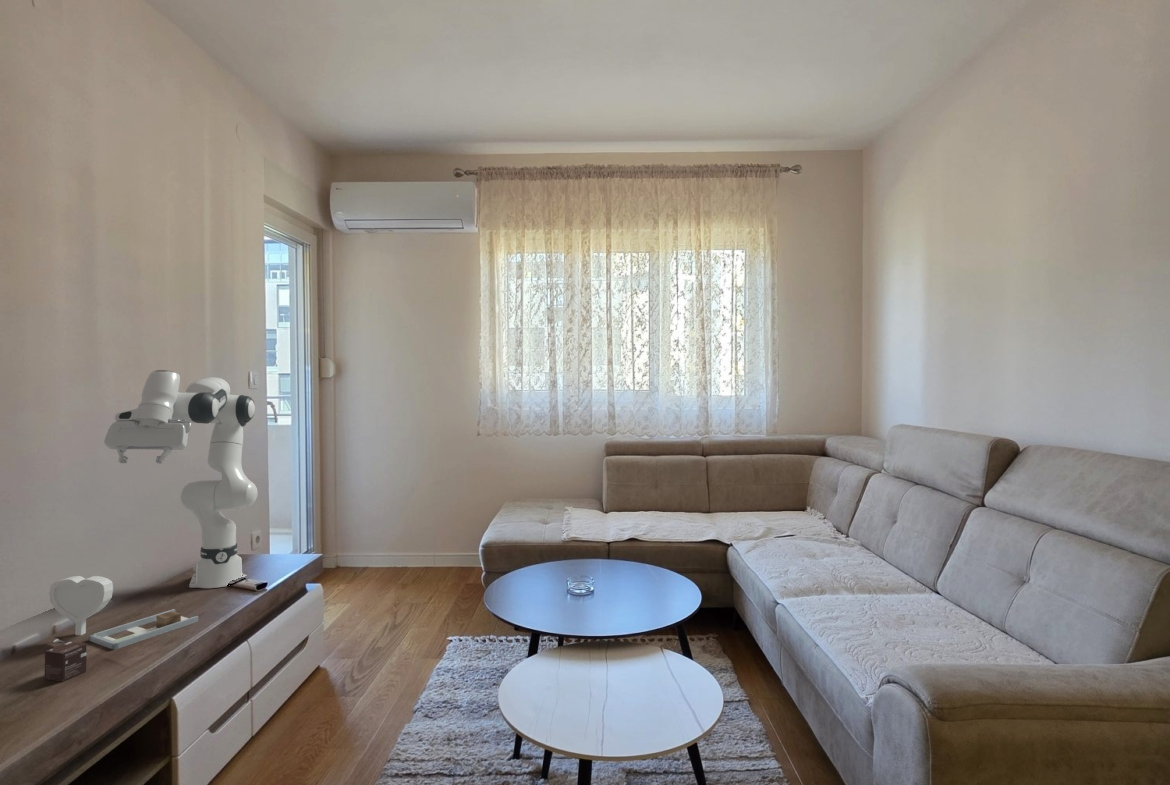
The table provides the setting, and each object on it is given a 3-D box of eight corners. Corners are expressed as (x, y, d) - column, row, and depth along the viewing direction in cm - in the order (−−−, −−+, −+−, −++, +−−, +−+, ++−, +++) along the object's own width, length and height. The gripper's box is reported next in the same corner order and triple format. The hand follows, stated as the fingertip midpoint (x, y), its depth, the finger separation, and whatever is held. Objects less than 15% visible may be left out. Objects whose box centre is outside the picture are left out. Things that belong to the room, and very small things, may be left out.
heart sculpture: (45, 642, 172) (47, 580, 172) (60, 635, 177) (61, 575, 177) (101, 642, 173) (102, 580, 173) (114, 635, 178) (115, 575, 178)
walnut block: (165, 630, 179) (165, 618, 179) (156, 627, 181) (156, 615, 181) (180, 624, 183) (180, 613, 183) (171, 622, 185) (172, 611, 185)
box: (62, 682, 150) (62, 653, 150) (43, 679, 151) (43, 651, 151) (87, 671, 156) (87, 643, 156) (68, 668, 157) (68, 641, 157)
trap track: (113, 655, 165) (114, 644, 165) (88, 645, 171) (88, 635, 171) (198, 626, 186) (198, 616, 186) (173, 618, 192) (173, 609, 192)
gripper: (195, 424, 183) (185, 466, 176) (119, 422, 178) (106, 466, 172) (188, 415, 177) (177, 459, 171) (109, 413, 173) (95, 458, 167)
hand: (141, 462), depth 171 cm, fingers open, 8 cm apart
